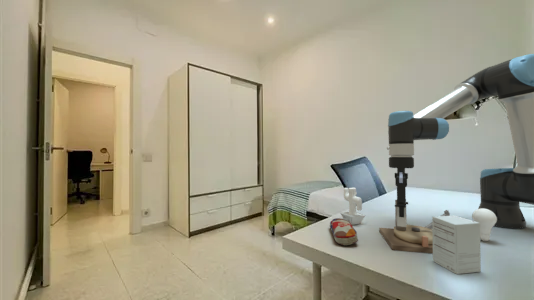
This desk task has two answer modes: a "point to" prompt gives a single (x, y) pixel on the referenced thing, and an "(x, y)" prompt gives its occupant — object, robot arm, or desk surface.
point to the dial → (412, 232)
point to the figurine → (353, 206)
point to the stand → (403, 242)
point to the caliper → (446, 213)
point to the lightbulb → (484, 222)
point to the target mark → (424, 241)
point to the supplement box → (456, 244)
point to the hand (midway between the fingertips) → (401, 224)
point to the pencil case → (343, 231)
